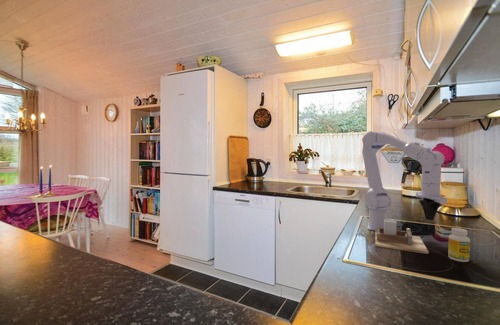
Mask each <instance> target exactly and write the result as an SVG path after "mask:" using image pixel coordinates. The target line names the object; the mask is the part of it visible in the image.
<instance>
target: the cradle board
mask: <svg viewBox="0 0 500 325" xmlns="http://www.w3.org/2000/svg"><path fill="white" fill-rule="evenodd" d="M374 239H375V244H374V245H375V247H381V248H385V249H387V248H388V249H392V250H398V251H399V250H400V251H407V252H410V253H411V252H413V253H418V254H426V255H429V250H428V248H427V246H426V245H425V243H424V242H423V240H422V238H421V237H420V236H416V235H412V245H411V244H408V237H406V231H405V230H397V229H396V235H389V234H384V229H383V228H377V231H375V230H374Z"/></svg>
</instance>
